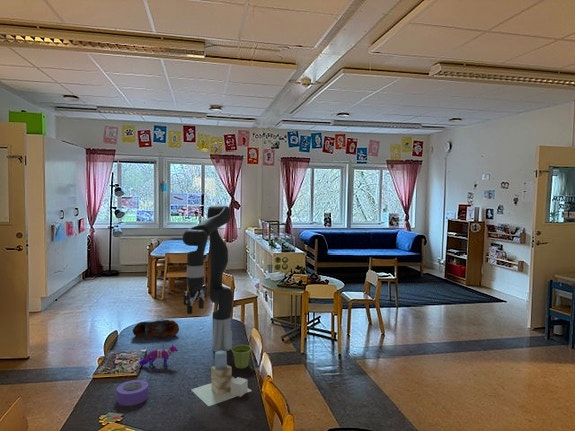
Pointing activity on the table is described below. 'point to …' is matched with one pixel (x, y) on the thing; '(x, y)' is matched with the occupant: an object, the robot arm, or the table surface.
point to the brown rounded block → (155, 329)
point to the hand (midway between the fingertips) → (195, 311)
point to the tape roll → (132, 392)
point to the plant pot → (241, 355)
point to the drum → (220, 360)
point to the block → (239, 386)
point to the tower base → (221, 387)
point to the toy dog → (158, 355)
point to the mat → (212, 394)
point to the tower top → (221, 374)
